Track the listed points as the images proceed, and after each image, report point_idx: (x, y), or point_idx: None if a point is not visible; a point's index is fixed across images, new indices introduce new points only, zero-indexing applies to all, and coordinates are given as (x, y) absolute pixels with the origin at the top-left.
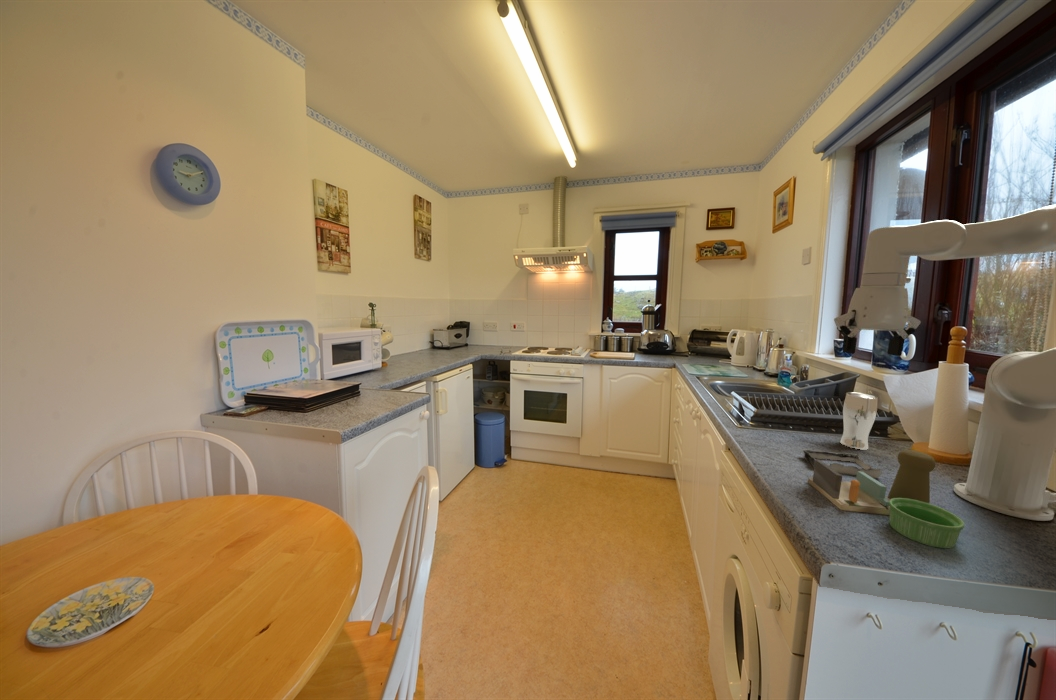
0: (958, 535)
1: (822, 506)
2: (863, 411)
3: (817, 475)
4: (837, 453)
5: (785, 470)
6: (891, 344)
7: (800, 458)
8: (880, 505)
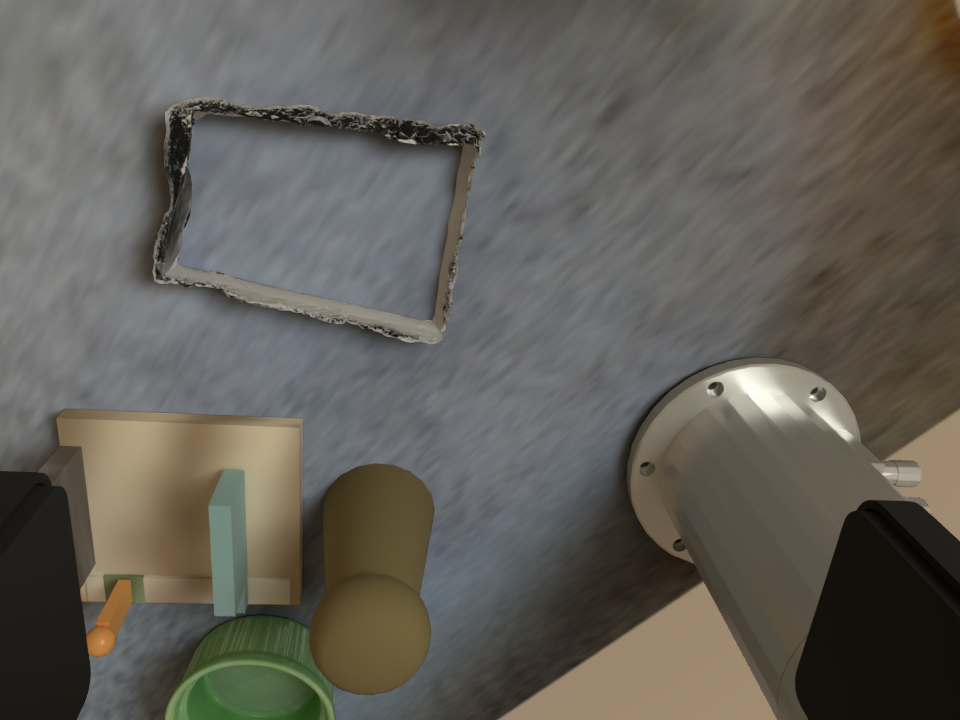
0: None
1: None
2: None
3: None
4: (379, 117)
5: (6, 302)
6: (953, 710)
7: (165, 129)
8: None
